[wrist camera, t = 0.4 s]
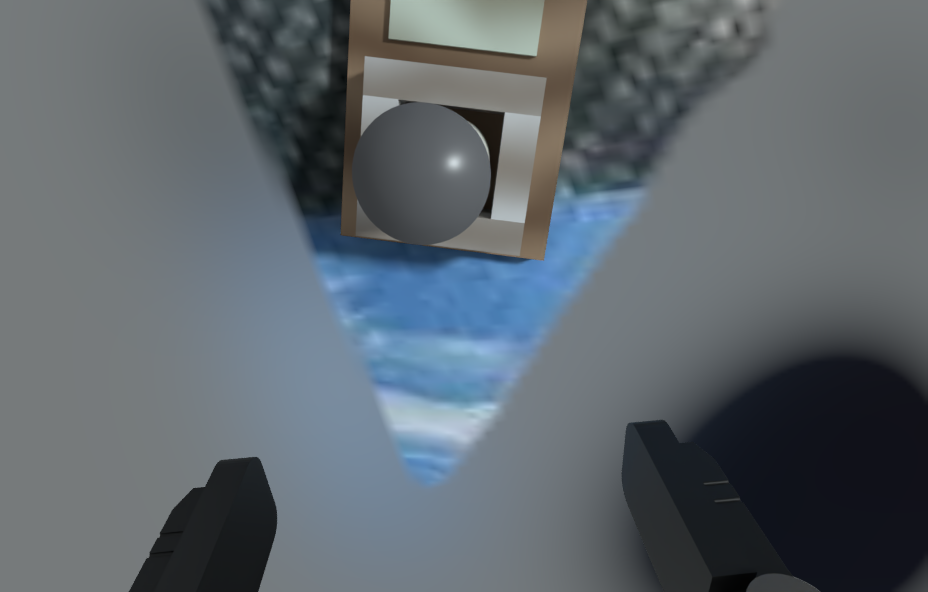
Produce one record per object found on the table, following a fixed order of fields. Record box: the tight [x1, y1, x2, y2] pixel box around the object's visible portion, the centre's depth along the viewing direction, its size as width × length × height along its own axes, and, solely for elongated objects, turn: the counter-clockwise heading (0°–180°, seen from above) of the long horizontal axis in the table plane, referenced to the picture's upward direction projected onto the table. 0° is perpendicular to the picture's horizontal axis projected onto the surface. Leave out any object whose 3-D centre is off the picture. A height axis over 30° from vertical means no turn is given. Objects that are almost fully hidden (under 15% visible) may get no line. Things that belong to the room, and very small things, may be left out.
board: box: [341, 0, 587, 260], centre depth 31 cm, size 23×14×6 cm, turn 173°
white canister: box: [352, 102, 491, 245], centre depth 26 cm, size 5×5×15 cm
